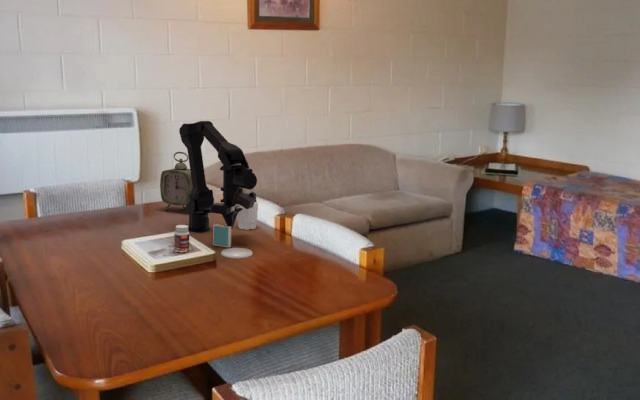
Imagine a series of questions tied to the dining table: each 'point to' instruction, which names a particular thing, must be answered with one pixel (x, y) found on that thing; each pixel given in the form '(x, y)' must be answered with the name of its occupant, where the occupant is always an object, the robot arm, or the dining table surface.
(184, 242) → the pill bottle
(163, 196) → the tabletop clock
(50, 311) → the dining table surface
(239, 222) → the white cup
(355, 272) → the dining table surface
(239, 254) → the coaster
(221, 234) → the tile
